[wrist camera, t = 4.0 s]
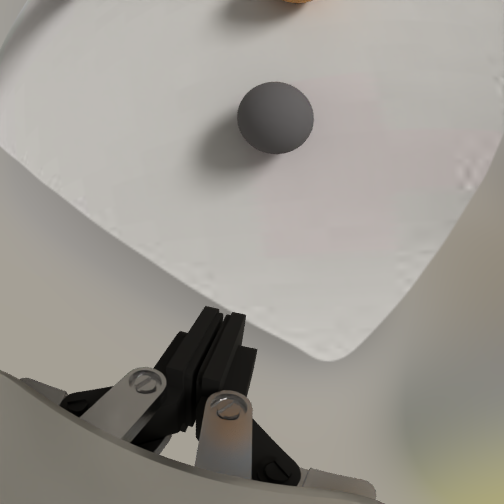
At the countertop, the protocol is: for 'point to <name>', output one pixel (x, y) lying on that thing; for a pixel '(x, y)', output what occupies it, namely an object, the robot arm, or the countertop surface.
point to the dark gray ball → (275, 117)
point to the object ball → (297, 1)
